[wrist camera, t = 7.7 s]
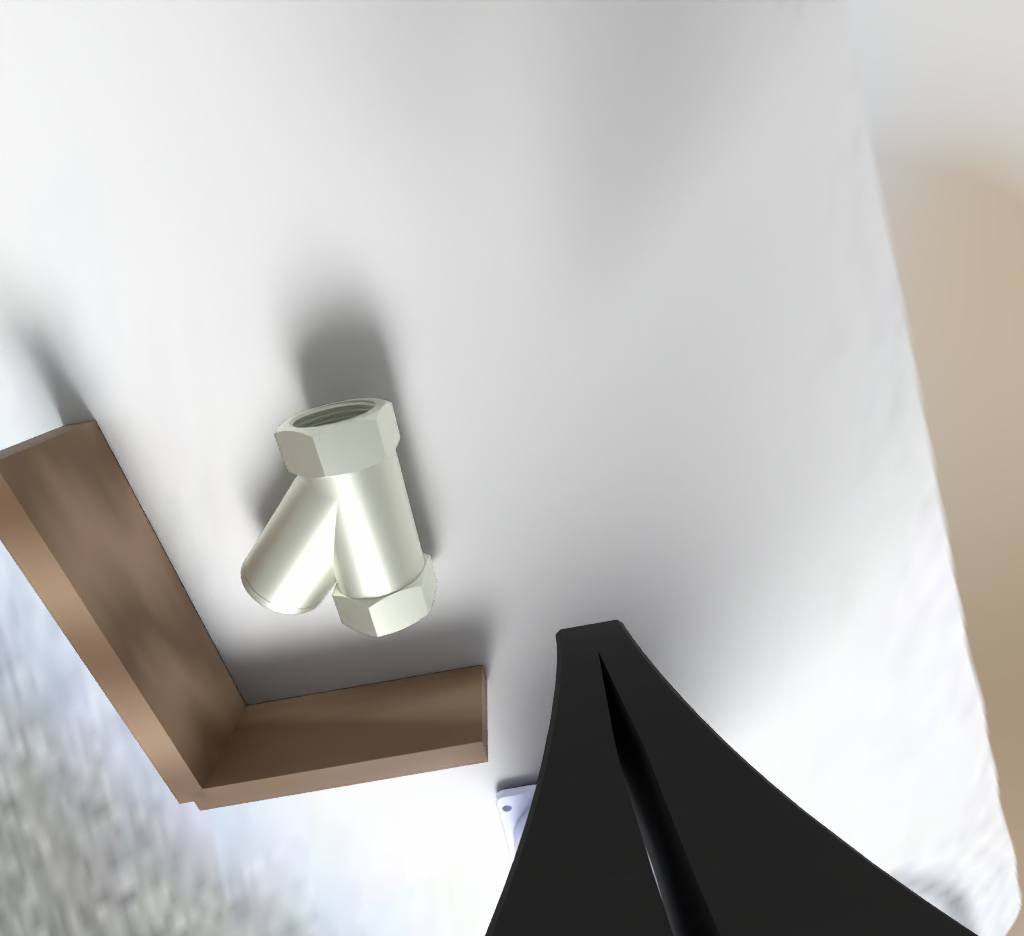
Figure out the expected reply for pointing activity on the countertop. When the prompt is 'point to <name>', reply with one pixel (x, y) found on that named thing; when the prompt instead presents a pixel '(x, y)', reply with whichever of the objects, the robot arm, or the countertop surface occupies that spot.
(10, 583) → the countertop surface
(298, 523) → the pipe fitting
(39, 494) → the corner arena
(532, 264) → the countertop surface
